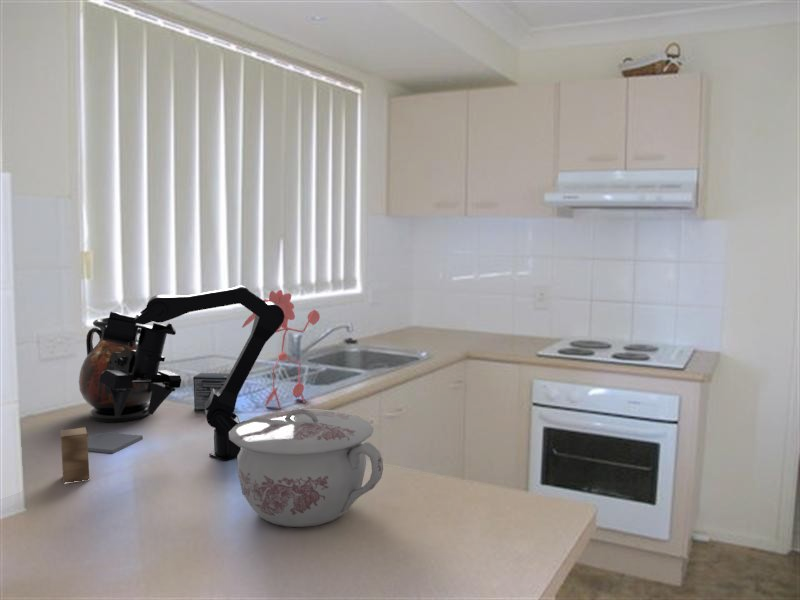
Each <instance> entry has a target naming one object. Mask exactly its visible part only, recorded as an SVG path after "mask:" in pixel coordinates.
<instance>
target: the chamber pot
mask: <svg viewBox="0 0 800 600" xmlns="http://www.w3.org/2000/svg"><path fill="white" fill-rule="evenodd" d="M239 422H240V421H239ZM374 429H375V428H374V427H373V426H372V424H371V423H370V422H369V421H368V420H367V419H365V418H362V417H360V416H358V415H355V414H352V413H346V412H343V411H338V410H329V409H316V408H315V409H311V408H310V409H309V408H308V409H307V408H306V409H305V408H302V407H301V408H300V407H298V408H293V409H287V410H280V411H274V412H267V413H264V414H260V415H257V416H253V417H249V418H246V419H245V420H243V421H241V422H240V423H238V424H236V425H235V426H234V427H233V428H232V429H231V430H230V431H229V440H231V441H232V442H233V443H235V444H236V445H237V446H239V447H241V450H240V452H239V454H238V456H237V457H236V460H237V461H236V462H237V463H236V464H237V475H238V479H239V480H238V481H239V483H240V489H241V492H242V495H243V496H244V498H245V500H246V502H248V504H249V506H250V507H251V508H252V510H253V511H254V513H256V514H257V515H258V516H259V517H260V518H262V520H264V521H265V522H267V523H270V524H274V525H277V526H282V527H292V528H295V527H296V528H297V527H298V528H306V527H313V526H318V525H323V524H325V523H326V524H327V523H330V522H332V521H334V520H336V519H339V518H340V517H341V516H342V515H344V514H345V513H346V511H348V510H349V509H350V507H352V505H353V504H354V503H355V502H356V501H357V500H358V499H359V498H360V497H361V496H363V495H364V494H366V493H368V492H370V491H371V490H373V489H374V488H375V487H376V486H377V484H378V483H379V482H380V480H381V479H382V478H383V477H382V476H383V472H384V463H383V462H384V461H383V460H384V458H383V456H382V453H381V452H380V450H379V449H377V447H376V446H375V445H374V444H373V443H371V441H366V440H367V439H369V438H371V436H372V435H373V433H374ZM365 441H366V442H365ZM363 442H364V443H363ZM367 457H368V458H369V460H370V463H371V473H370V477H369V480H368V481H367V482H366V483H365V485H364V486H362V485H363V480H364V477H365V472H366V466H367Z"/></svg>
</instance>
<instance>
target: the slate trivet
mask: <svg viewBox="0 0 800 600" xmlns="http://www.w3.org/2000/svg"><path fill="white" fill-rule="evenodd" d="M143 438H144V436H143V435H141V434H130V433H120V432H118V433H117V432H108V431H101V432H99V433H97V434H94V435H92V436H91V437H87V442H88V452H94V451H95V452H97V453H107V454H114V453H116V452H119V451H120V450H123V449H125V448H126V447H128V446H131V445H133V444H134V443H137V442H139V441H141V440H143ZM95 452H94V453H95Z"/></svg>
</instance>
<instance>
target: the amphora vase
mask: <svg viewBox="0 0 800 600" xmlns="http://www.w3.org/2000/svg"><path fill="white" fill-rule="evenodd" d="M108 319H109V317H102V318H97V319H95V320H93V322H92V324H93V327H92V328H90V329H89V330H88V332H87V335H86V339H85V340H86V342H85V343H86V344H85V345H86V357H85V359H84V360H83V362H82V365H81V367H80V371H79V376H78V377H79V378H78V385H79V386H78V387H79V392H80V394H81V396H82V398H83V400H84V401H85V402H86V403H87V404H89V406H91V408H92V409H91V410H90V413H89V414H90V417H91V418H92V419H93V420H95V421H98V422H103V423H104V422H105V423H121V422H129V421H133V420H138V419H141V418H143V417H146V416H148V415H149V414H148V409H149V403H150V399H151V394H152V388H151V384H150V383H132V384H131V386H130V387H129V388H128V389H129V390H131V391H130V394H129V396H128V399H127V401H126V404H125V406H124V408H123V411H122V413H121V415H120V416H119V417H117V416H115V411H114V403H113V397H112V393H111V391H110V389H109V387H106V386H105V385H104V383H102V382H100V377H101V374H102V372H104V371H105V370H115V367H110V365H109V359H110V356H111V353H122V355H123V356H130V353H131V351H132V350H136V348H137V344H138V340H139V339H138V335H140V331H141V328H138V330H137V335H136V339H135V342H131V343H129V345H124V344H118V343H113V342H108V341H103V335H104V331H105V327H106V325H107V323H108ZM136 324H137V323H136ZM95 333H96V334H97V335H98V338H99V341H98V343H97V344H96V345H95V346H94V345H93V339H94V334H95ZM119 371H120V370H119ZM122 372H124V373H126V374H128V375H130V374H131V373H127V372H125V371H122ZM139 379H140V378H139Z"/></svg>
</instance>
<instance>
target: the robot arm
mask: <svg viewBox="0 0 800 600" xmlns="http://www.w3.org/2000/svg"><path fill="white" fill-rule="evenodd" d="M237 304H239V305H241V306H243V307H244V308H246V309H247V310H248V311H250V312H251V313H252V314H253V313H254V314H256V316H255V318H254V320H253V322H252V323H253V324H252V328H251V332H250V335H249V337H248V339H247V340H246V341H245V344H244V346H243V348H242V350H241V351H240V353H239V355H238V357H237V359H236V361H235V363H234V365H233V367H232V369H231V370H230V372H229V373H228V374H229V376H228V378H227V379H226V381H225V383H224V385H223V386H222V387H221V388H220V389H219V390H218V391H216V390H215V389H212V391H211V394H210V397H209V398H208V400H207V401H206V402H205V411H204V412H205V419H206V421H207V424H208V425H209V426H210V427H211V428H213V434H214V435H213V444H214V448H213V449H214V451H212V452H209V453H208V455H209V456H210V457H213V458H214V459H218V460H221V461H223V462H224V461H225V462H226V461H229V460H233V459H237V456H238V454H239V452H240V450H241V447H239V446H237V445H236V444H235V443H233V442H232V441H231V440H229V431H230V430H231V429H232V428H233V427H234V426H235V425H236V424H238V423H240V419H239V416H238V415H237V414H236V413H235V410H236V409H235V408H236V404H237V400H238V397H239V394H240V391H241V389H242V387H243V385H244V384H245V382H246V380H247V378H248V376H249V375H250V373H251V371H252V368H253V367H254V365H255V363H256V361H257V360H258V357H259V356H260V354H261V352H262V351H263V349H264V346H265V344H266V343H267V342H268V341H269V340H270V339H271V337H272V336H274V335H275V332H276V331H277V330H278V328H279V327H280V326H281V324H282V323H283V321H284V312H283V310H282V309H281V308H280V307H279V306H278V305H277V304H275V303H273V302H265V301H264V299H262V298H261V297H259V296H257V295H256V294H254V293H253V292H251V290H249V289H248V288H247V287H246V286H244V285H237V286H235V287H230V288H223V289H217V290H211V291H205V292H200V293H199V292H198V293H194V294H187V295H185V294H183V295H181V294H156V295H153V296H152V297H150V299H149V300H148V301H147V305H146V307H145V308H144V309H143V310H142V311H140V312H138V313H137V314H136V315H135V316H133V315H128V314H124V313H120V312H117V311H115V310H114V311H113V310H112V311H110V312H109V317H108V318H109V319H108V323H107V325H106V327H105V331H104V335H103V341H108V342H113V343H118V344H124V345H129V343H131V342H135V339H136V335H137V330H138V329H141V331H140V333H139V336H138V335H137V336H138V339H137V340H138V344H137V348H136V350H132V351H131V353H130V356H123V355H122V353H111V356H110V359H109V365H110V367H115V370H105V371H104V372H102V374H101V377H100V382H102V383H104V385H105V386H106V387H109V389H110V391H111V393H112V397H113V403H114V411H115V416H117V417H119V416H120V415H121V413H122V411H123V408H124V406H125V404H126V401H127V399H128V396H129V394H130V391H131V390H129V389H128V388H129V387H130V386H131V384H132V383H150V384H151V388H152V394H151V399H150V401H149V402H148V404H149V409H148V414H147V415H149V416H150V415H154V414H155V412H156V410H157V409H158V408H160V406H161V404H163V402H164V401H165V400H166V399H167V398H168V397H169V395H170V394H172V392H175V391H176V389H177V388H180V387H181V383H182V377H181V376H180V375H179V374H177V373H176V372H175V373H174V372H172V371H170V370H163V369H160V370H159V368H160V364H161V362H165V359H166V356H164V355H163V352H164V348H165V347H164V346H165V344H166V339H167V335H172V336H175V335H176V334H177V333H176V329H175V328H174V326H173V324H172V322H169V323H167V324H161V323H164V322H168V321H170V320H173V319H175V318H179V317H181V316H182V315H185V314H188V313H190V312H191V313H192V312H198V311H203V310H208V309H216V308H221V307H225V306H233V305H237ZM152 322H153V324H152V325H147V324H149V323H152ZM136 323H137V324H136ZM281 327H282V326H281ZM276 333H277V332H276ZM119 370H120V371H119ZM122 371H125V372H127V373H131V374H130V375H128V374H126V373H124V372H122ZM139 378H140V379H139Z"/></svg>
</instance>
